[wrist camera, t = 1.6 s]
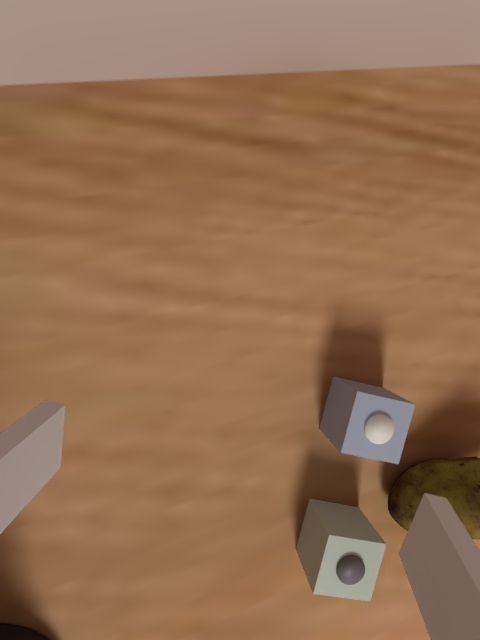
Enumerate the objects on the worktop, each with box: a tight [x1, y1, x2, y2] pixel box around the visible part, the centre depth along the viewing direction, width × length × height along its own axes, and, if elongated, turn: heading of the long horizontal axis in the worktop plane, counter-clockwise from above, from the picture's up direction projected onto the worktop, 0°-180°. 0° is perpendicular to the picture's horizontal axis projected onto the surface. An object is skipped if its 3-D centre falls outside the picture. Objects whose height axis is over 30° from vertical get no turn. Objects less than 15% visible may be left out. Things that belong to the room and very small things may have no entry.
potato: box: [388, 457, 480, 539], centre depth 37 cm, size 8×13×8 cm, turn 88°
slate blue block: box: [319, 376, 415, 464], centre depth 36 cm, size 6×6×6 cm
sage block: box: [296, 499, 386, 601], centre depth 37 cm, size 6×6×6 cm
